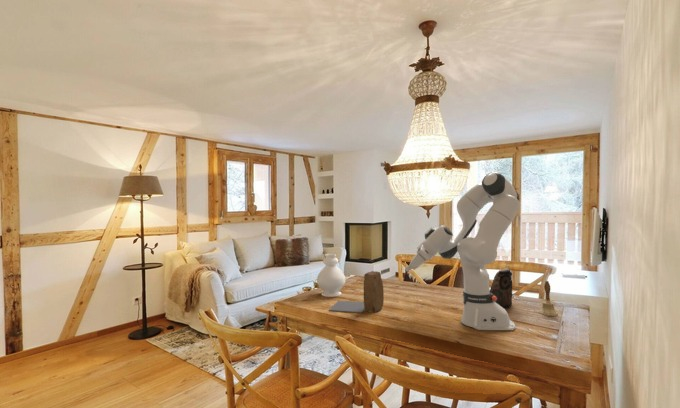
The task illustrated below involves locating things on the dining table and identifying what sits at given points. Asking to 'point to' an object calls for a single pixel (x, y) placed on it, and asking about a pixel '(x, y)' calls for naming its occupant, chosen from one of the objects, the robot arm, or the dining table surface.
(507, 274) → the owl
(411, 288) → the dining table surface
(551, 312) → the hand bell
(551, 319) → the dining table surface
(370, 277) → the block
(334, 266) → the decorative vase
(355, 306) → the mat
